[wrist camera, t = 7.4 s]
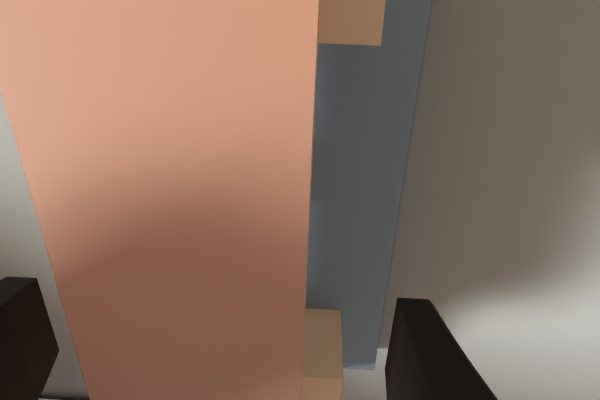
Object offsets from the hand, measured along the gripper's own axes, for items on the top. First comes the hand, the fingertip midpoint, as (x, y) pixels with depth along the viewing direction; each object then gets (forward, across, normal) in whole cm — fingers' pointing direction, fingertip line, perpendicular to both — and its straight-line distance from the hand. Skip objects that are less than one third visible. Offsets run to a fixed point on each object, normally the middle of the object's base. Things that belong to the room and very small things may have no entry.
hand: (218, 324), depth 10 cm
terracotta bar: (+3, 0, 0) cm, 3 cm away
